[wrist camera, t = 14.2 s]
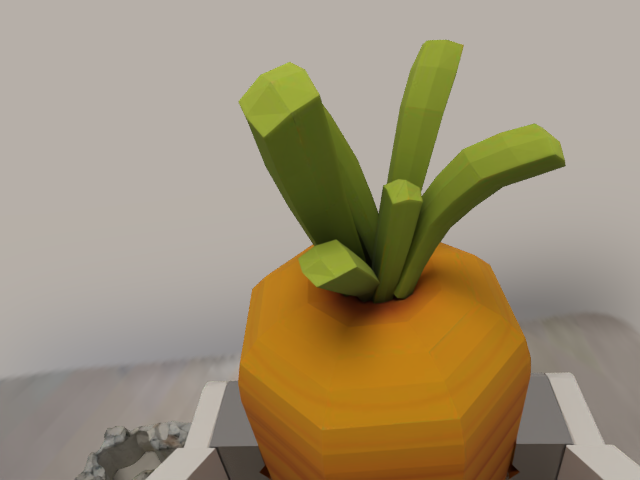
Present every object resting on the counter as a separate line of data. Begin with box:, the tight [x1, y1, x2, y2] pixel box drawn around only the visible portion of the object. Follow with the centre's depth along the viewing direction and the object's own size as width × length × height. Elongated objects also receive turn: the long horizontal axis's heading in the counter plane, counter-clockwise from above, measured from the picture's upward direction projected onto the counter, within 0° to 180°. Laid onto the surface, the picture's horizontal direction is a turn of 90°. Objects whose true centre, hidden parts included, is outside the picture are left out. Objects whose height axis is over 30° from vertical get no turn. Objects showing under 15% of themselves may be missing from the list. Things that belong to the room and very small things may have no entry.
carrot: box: [238, 40, 565, 480], centre depth 10 cm, size 5×5×15 cm
